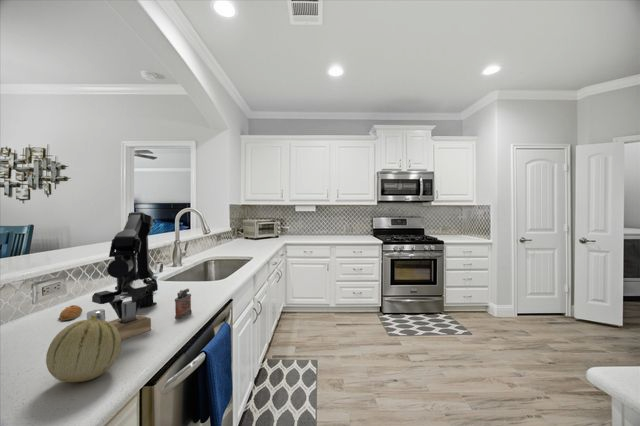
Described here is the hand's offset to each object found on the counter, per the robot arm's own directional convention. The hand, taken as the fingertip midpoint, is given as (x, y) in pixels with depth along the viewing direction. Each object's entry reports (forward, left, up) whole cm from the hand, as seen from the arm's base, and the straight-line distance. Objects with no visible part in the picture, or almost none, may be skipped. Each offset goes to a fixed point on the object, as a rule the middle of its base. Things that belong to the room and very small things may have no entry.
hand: (127, 316), depth 101 cm
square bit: (0, 0, -5) cm, 5 cm away
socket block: (0, 0, -6) cm, 6 cm away
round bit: (-13, -4, -6) cm, 15 cm away
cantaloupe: (+20, -21, -6) cm, 29 cm away
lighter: (+3, +19, -6) cm, 21 cm away
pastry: (-36, -2, -6) cm, 36 cm away
